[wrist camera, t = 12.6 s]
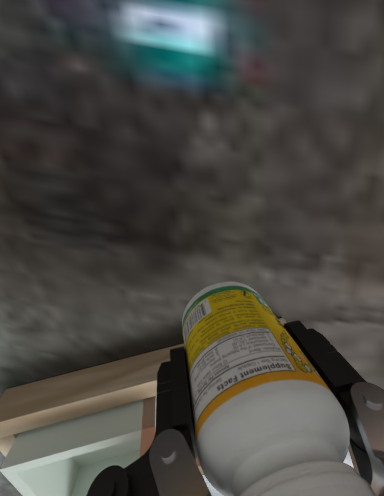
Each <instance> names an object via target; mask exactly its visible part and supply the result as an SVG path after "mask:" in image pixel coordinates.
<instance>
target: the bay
mask: <svg viewBox="0 0 384 496" xmlns="http://www.w3.org/2000/svg"><path fill="white" fill-rule="evenodd" d="M278 320H279V321H280V322H281V324H282V325H283V326H284V324H285V323H287V322H286V321H285V320H284V319H283V318H280V319H278ZM182 346H184V343H183V344H179V345H176V346H172V347H168V348H164V349H160V350H156V351H152V352H148V353H144V354H141V355H137V356H133V357H129V358H125V359H121V360H117V361H113V362H110V363H106V364H102V365H98V366H94V367H90V368H86V369H82V370H79V371H75V372H71V373H67V374H63V375H59V376H55V377H51V378H48V379H44V380H40V381H36V382H32V383H28V384H24V385H20V386H17V387H13V388H9V389H6V390H5V392H4V393H3V395H2V396H1V398H0V451H1V452H2V454H3V455H4V456H5V457H6V456H7V454H8V452H9V450H10V448H11V447H12V445H13V443H14V441H15V439H16V437H17V435H18V433H20V432H24V431H28V430H31V429H35V428H39V427H42V426H46V425H50V424H53V423H57V422H61V421H64V420H68V419H72V418H75V417H79V416H83V415H86V414H90V413H94V412H98V411H101V410H105V409H109V408H112V407H116V406H120V405H123V404H127V403H131V402H134V401H138V400H142V399H145V398H149V397H153V396H156V395H157V372H158V370H159V367H160V365H161V363H162V362H167V361H170V349H173V348H178V347H182ZM184 349H185V347H184ZM196 464H197V466H198V468H199V470H200V472H201V474H202V475H204V472H203V470H202V468H201V465H200V462H199V459H198V457H197V458H196Z"/></svg>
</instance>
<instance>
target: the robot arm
mask: <svg viewBox="0 0 384 496" xmlns="http://www.w3.org/2000/svg"><path fill="white" fill-rule="evenodd" d="M284 328H285V329H286V330H287V332H288V333H289V335H290V336H291V337H292V339H293V340H294V341H295V343H296V344H297V345H298V347H299V348H300V349H301V351H302V352H303V353H304V355H305V356H306V357H307V359H308V360H309V361H310V363H311V364H312V366H313V367H314V368H315V370H316V371H317V372H318V374H319V375H320V377H321V378H322V379H323V381H324V382H325V384H326V385H327V386H328V388H329V389H330V390H331V392H332V393H333V394H334V396H335V397H336V399H337V400H338V402H339V403H340V405H341V406H342V408H343V410H344V412H345V415H346V417H347V421H348V425H349V430H350V441H349V447H348V449H349V453H350V456H351V459H352V463H353V466H354V469H355V470H356V471H357V472H358V474H359V475H360V476H361V478H363V479H364V480H366V481H367V482H368V483H369V485H370V486H371V488H372V490H373V491H374V493H375V495H376V496H384V390H383V389H382V388H380V387H378V386H376V385H374V384H371V383H367V382H366V381H365V380H364V379H363V378H362V377H361V376H360V375H359V374H358V372H357V371H356V370H355V369H354V368H353V367H352V366H351V365H350V364H349V363H348V362H347V361H346V360H345V358H344V357H343V356H342V355H341V354H340V353H339V352H337V350H336V349H335V348H334V347H333V345H331V344H330V342H329V341H328V340H327V339H326V338H325V337H324V336H323V335H322V334H321V333H319V332H317V331H316V330H314V329H312V328H311V329H306V328H305V326H304V325H303V324H302V323H301V322H300V321H293V322H289V323H285V324H284ZM197 457H198V454H197V446H196V439H195V430H194V422H193V414H192V405H191V396H190V388H189V379H188V371H187V363H186V354H185V349H184V346H182V347H178V348H173V349H170V361H167V362H162V363H161V365H160V367H159V370H158V372H157V397H156V430H155V436H154V439H153V442H152V444H151V446H150V447H149V449H148V450H147V451H146V453H145V454H144V455H142V456H141V457H140V458H139V459H137V460H136V461H134V462H133V463H131V464H130V465H128V466H127V467H125V468H122V467H121V466H119V465H112V466H109V467H107V468H105V469H104V470H102V471H101V472H100V473H99V474H98V475H97V476H96V478H95V479H94V481H93V482H92V484H91V486H90V488H89V490H88V493H87V495H86V496H211V494H210V491H209V489H208V487H207V485H206V483H205V481H204V479H203V476H202V474H201V472H200V470H199V468H198V466H197V464H196V458H197Z"/></svg>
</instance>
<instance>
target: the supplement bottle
mask: <svg viewBox="0 0 384 496" xmlns="http://www.w3.org/2000/svg"><path fill="white" fill-rule="evenodd" d="M182 330H183V339H184V347H185V354H186V363H187V371H188V379H189V388H190V396H191V405H192V414H193V422H194V430H195V439H196V446H197V454H198V459H199V462H200V465H201V468H202V470H203V472H204V474H205V476H206V478H207V479H208V481H209V482H210V483H211V485H212V486H213V487H214V488H215V489H216V490H217V491H219V492H220V493H221V494H222V495H224V496H376V495H375V493H374V491H373V490H372V488H371V486H370V485H369V483H368V482H367V481H366V480H364V479H363V478H361V476H360V475H359V474H358V472H357V471H356V470H355V469H353V468H352V467H351V466H349V465H348V464H345V463H343V461H344V459H345V457H346V455H347V452H348V447H349V441H350V430H349V425H348V421H347V417H346V415H345V412H344V410H343V408H342V406H341V405H340V403H339V402H338V400H337V399H336V397H335V396H334V394H333V393H332V392H331V390H330V389H329V388H328V386H327V385H326V384H325V382H324V381H323V379H322V378H321V377H320V375H319V374H318V372H317V371H316V370H315V368H314V367H313V366H312V364H311V363H310V361H309V360H308V359H307V357H306V356H305V355H304V353H303V352H302V351H301V349H300V348H299V347H298V345H297V344H296V343H295V341H294V340H293V339H292V337H291V336H290V335H289V333H288V332H287V330H286V329H285V328H284V326H283V325H282V324H281V322H280V321H279V320H278V318H277V317H276V316H275V314H274V313H273V311H272V310H271V309H270V307H269V306H268V305H267V303H266V302H265V301H264V299H263V298H262V297H261V296H260V295H259V294H258V293H257V292H256V291H255V290H253V289H252V288H251V287H249V286H247V285H245V284H242V283H238V282H233V281H232V282H221V283H216V284H213V285H211V286H208V287H206V288H204V289H202V290H201V291H200V292H198V293H197V294H196V295H195V296H194V297H193V298H192V299H191V300H190V302H189V303H188V305H187V306H186V308H185V311H184V314H183V318H182Z"/></svg>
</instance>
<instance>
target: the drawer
mask: <svg viewBox="0 0 384 496" xmlns="http://www.w3.org/2000/svg"><path fill="white" fill-rule="evenodd" d="M156 397H157V395H156V396H153V397H149V398H145V399H142V400H138V401H134V402H131V403H127V404H123V405H120V406H116V407H112V408H109V409H105V410H101V411H98V412H94V413H90V414H86V415H83V416H79V417H75V418H72V419H68V420H64V421H61V422H57V423H53V424H50V425H46V426H42V427H39V428H35V429H31V430H28V431H24V432H20V433H18V435H17V437H16V439H15V441H14V443H13V445H12V447H11V448H10V450H9V452H8V454H7V456H6V458H5V460H4V462H3V464H2V465H1V467H0V471H1V472H2V473H3V475H4V476H5V477H6V478H7V479H8V480H9V481H10V482H11V483H12V484H13V486H14V487H15V488H16V489H17V490H18V491H19V492H20V493H21V494H22V495H23V496H86V495H87V493H88V490H89V488H90V486H91V484H92V482H93V481H94V479H95V478H96V476H97V475H98V474H99V473H100V472H101V471H102V470H104V469H105V468H107V467H109V466H112V465H119V466H121V467H122V468H125V467H127V466H128V465H130V464H131V463H133V462H134V461H136V460H137V459H139V458H140V457H141V456H142V455H144V454H145V453H146V451H147V450H148V449H149V447H150V446H151V444H152V442H153V439H154V436H155V430H156Z"/></svg>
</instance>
